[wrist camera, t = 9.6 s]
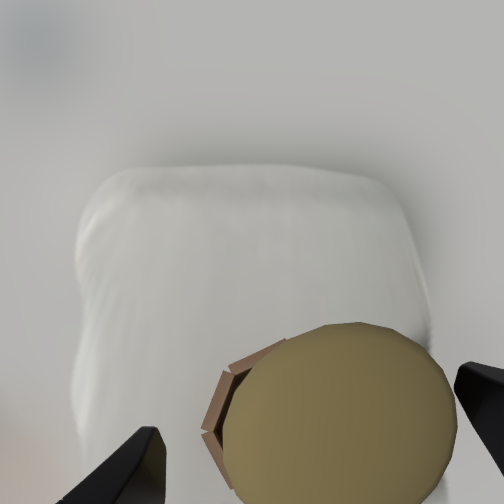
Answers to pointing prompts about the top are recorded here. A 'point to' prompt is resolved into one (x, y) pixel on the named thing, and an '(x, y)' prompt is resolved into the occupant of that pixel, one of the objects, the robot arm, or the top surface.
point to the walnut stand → (227, 405)
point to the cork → (341, 421)
